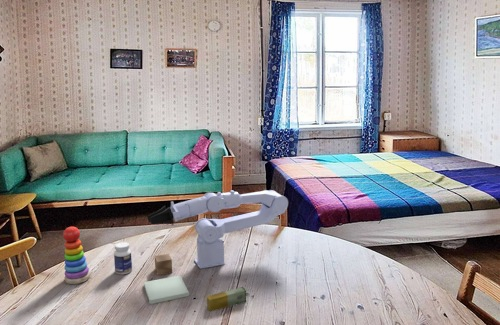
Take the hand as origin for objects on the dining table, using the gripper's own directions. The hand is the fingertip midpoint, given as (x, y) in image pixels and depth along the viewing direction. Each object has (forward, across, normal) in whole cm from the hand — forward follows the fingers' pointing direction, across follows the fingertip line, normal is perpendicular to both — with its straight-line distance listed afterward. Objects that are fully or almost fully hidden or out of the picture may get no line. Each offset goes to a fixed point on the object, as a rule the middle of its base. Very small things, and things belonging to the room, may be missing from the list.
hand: (149, 220), depth 139 cm
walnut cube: (-1, -5, +19) cm, 20 cm away
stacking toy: (+27, -9, +14) cm, 31 cm away
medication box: (-14, +23, +29) cm, 39 cm away
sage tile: (+1, +9, +22) cm, 24 cm away
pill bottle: (+12, -9, +16) cm, 22 cm away
